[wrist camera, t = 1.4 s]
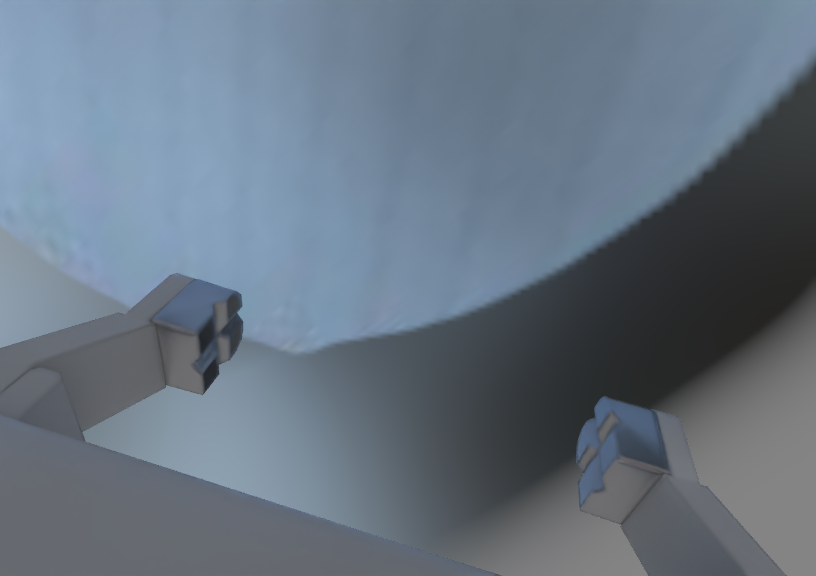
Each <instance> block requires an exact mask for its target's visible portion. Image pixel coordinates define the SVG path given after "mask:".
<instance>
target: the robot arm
mask: <svg viewBox="0 0 816 576" xmlns="http://www.w3.org/2000/svg"><path fill="white" fill-rule="evenodd" d="M241 307H242V298H241V294H240V293H238V292H237V291H234V290H231V289H228V288H224V287H221V286H218V285H215V284H212V283H208V282H205V281H202V280H199V279H194V278H191V277H188V276H184V275H181V274H178V273H176V274H172V275H170V276H169V277H167V278H166V279H165V280H164V281H163V282H162V283H161V284H159V285H158V286H157V287H156V288H155V289H154V290H152V291H151V292H150V293H149V294H148V295H147V296H146V297H144V298H143V299H142V300H141V301H140V302H139V303H138V304H136V305H135V306H134V307H133V308H132V309H131V310H130V311H128V312H127V313H126V314H122V313H115V314H112V315H109V316H106V317H102V318H99V319H95V320H92V321H89V322H86V323H82V324H79V325H76V326H72V327H69V328H66V329H62V330H59V331H56V332H52V333H49V334H46V335H42V336H39V337H36V338H32V339H29V340H26V341H23V342H20V343H16V344H12V345H9V346H6V347H3V348H0V576H500V575H498V574H494V573H491V572H488V571H485V570H482V569H479V568H476V567H472V566H469V565H466V564H463V563H460V562H457V561H454V560H451V559H448V558H445V557H441V556H438V555H435V554H432V553H429V552H426V551H423V550H420V549H416V548H413V547H410V546H407V545H404V544H401V543H398V542H395V541H392V540H388V539H385V538H382V537H379V536H376V535H373V534H370V533H367V532H363V531H361V530H357V529H354V528H351V527H348V526H345V525H342V524H339V523H336V522H332V521H330V520H326V519H323V518H320V517H317V516H314V515H311V514H308V513H305V512H301V511H298V510H295V509H292V508H289V507H286V506H283V505H280V504H277V503H274V502H271V501H268V500H265V499H261V498H258V497H255V496H252V495H249V494H245V493H242V492H240V491H237V490H233V489H230V488H227V487H224V486H221V485H218V484H215V483H212V482H209V481H205V480H202V479H199V478H196V477H193V476H190V475H187V474H183V473H181V472H178V471H175V470H171V469H168V468H165V467H162V466H159V465H156V464H153V463H150V462H147V461H144V460H140V459H137V458H134V457H131V456H128V455H125V454H122V453H119V452H116V451H112V450H109V449H106V448H103V447H100V446H97V445H94V444H91V443H87V442H85V439H84V436H83V433H82V432H83V431H85V430H87V429H89V428H90V427H92V426H94V425H96V424H98V423H100V422H102V421H103V420H105V419H107V418H109V417H111V416H113V415H115V414H117V413H119V412H120V411H122V410H124V409H126V408H128V407H130V406H132V405H134V404H135V403H137V402H139V401H141V400H143V399H145V398H147V397H149V396H150V395H152V394H154V393H156V392H158V391H160V390H162V389H164V388H166V385H168V386H172V387H175V388H179V389H182V390H186V391H190V392H193V393H197V394H201V395H203V394H204V393H205V391H206V390H207V389H208V388H209V387H210V385H211V384H212V383H213V381H214V380H215V379H216V377H217V376H218V375H219V364H222V363H224V362H226V361H229V360H230V359H231V358H232V356H233V355H234V354H235V352H236V351H237V348H238V346H239V344H240V341H241V339H242V333H243V321H242V319H241V318H240V317H239V315H238V314H237V312H238V311H239V310H240V308H241ZM577 465H578V466H579V467H580V469H581V470H582V472H583V473H584V474H583V475H582V477H581V478H580V480H579V481H578V489H579V505H580V511H582V512H585V513H588V514H591V515H594V516H597V517H600V518H603V519H606V520H609V521H612V522H615V523H618V524H621V526H620V527H621V528H622V530H623V532H624V534H625V535H626V537H627V539H628V541H629V543H630V544H631V546H632V548H633V550H634V551H635V553H636V555H637V557H638V558H639V560H640V562H641V564H642V565H643V567H644V569H645V570H646V572H647V574H648V576H786V575H785V573H784V572H783V571H782V570H781V569H780V568H779V567H778V566H777V564H776V563H775V562H774V561H773V560H772V559H771V558H770V557H769V555H768V554H767V553H766V552H765V551H764V550H763V549H762V548H761V547H760V545H759V544H758V543H757V542H756V541H755V540H754V539H753V537H752V536H751V535H750V534H749V533H748V532H747V531H746V530H745V529H744V527H743V526H742V525H741V524H740V523H739V522H738V520H737V519H736V518H735V517H734V516H733V515H732V514H731V513H730V512H729V510H728V509H727V508H726V507H725V506H724V505H723V504H722V502H721V501H720V500H719V499H718V498H717V497H716V496H715V495H714V494H713V492H712V491H711V490H710V489H709V488H708V487H707V486H703V485H700V483H699V479H698V476H697V472H696V469H695V466H694V462H693V459H692V455H691V452H690V449H689V445H688V442H687V438H686V435H685V432H684V428H683V425H682V421H681V420H680V419H679V418H678V416H675V415H671V414H668V413H664V412H660V411H656V410H651V409H648V408H644V407H641V406H637V405H634V404H630V403H626V402H623V401H619V400H616V399H612V398H609V397H605V396H604V397H603V398H601V399H600V400H599V402H598V403H597V405H596V406H595V418H593V419H591V420H589V421H586V423H585V425H584V427H583V429H582V431H581V433H580V437H579V440H578V443H577Z"/></svg>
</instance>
